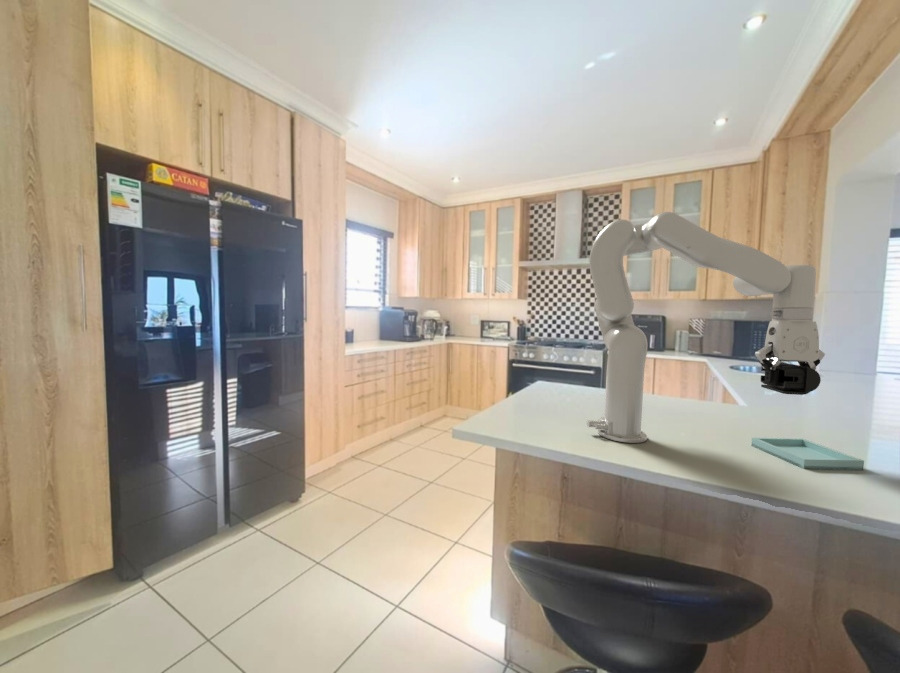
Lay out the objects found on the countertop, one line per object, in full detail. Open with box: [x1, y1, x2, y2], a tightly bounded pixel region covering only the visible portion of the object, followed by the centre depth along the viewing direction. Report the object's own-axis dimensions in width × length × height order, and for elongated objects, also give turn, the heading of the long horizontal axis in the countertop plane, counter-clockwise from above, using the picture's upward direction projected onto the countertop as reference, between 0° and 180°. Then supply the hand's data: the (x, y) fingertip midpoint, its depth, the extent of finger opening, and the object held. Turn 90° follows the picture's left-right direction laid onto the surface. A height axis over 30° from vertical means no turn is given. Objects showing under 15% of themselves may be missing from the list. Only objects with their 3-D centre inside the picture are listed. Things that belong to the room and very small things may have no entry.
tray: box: [751, 437, 865, 471], centre depth 91 cm, size 14×15×2 cm
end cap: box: [760, 361, 822, 396], centre depth 92 cm, size 10×7×7 cm
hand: (787, 384), depth 92 cm, fingers closed on end cap, 8 cm apart
